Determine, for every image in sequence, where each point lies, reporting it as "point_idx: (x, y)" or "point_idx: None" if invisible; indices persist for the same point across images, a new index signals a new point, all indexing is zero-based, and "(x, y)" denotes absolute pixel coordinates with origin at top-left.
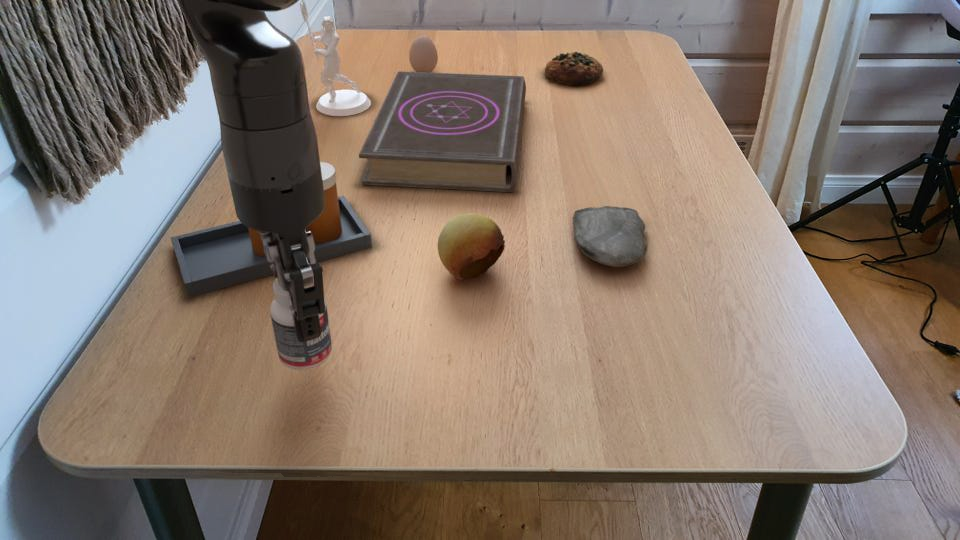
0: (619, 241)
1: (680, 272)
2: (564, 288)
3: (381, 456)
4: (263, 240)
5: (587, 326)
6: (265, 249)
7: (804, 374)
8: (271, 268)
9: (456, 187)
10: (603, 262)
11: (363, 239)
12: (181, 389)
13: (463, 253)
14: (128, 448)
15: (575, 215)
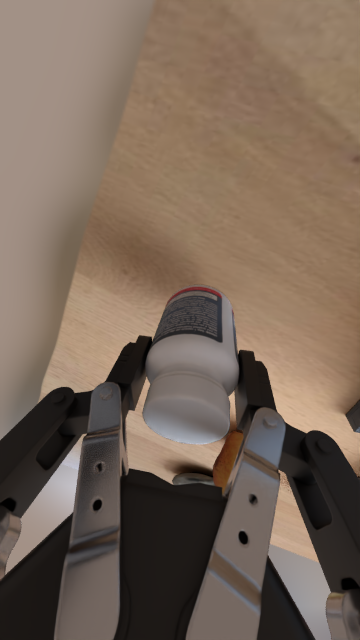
0: None
1: (163, 477)
2: (184, 451)
3: (75, 303)
4: (194, 607)
5: (146, 439)
6: (241, 512)
7: (78, 460)
8: (265, 419)
9: None
10: (181, 476)
11: (356, 423)
12: (298, 111)
13: (222, 467)
14: None
15: None
